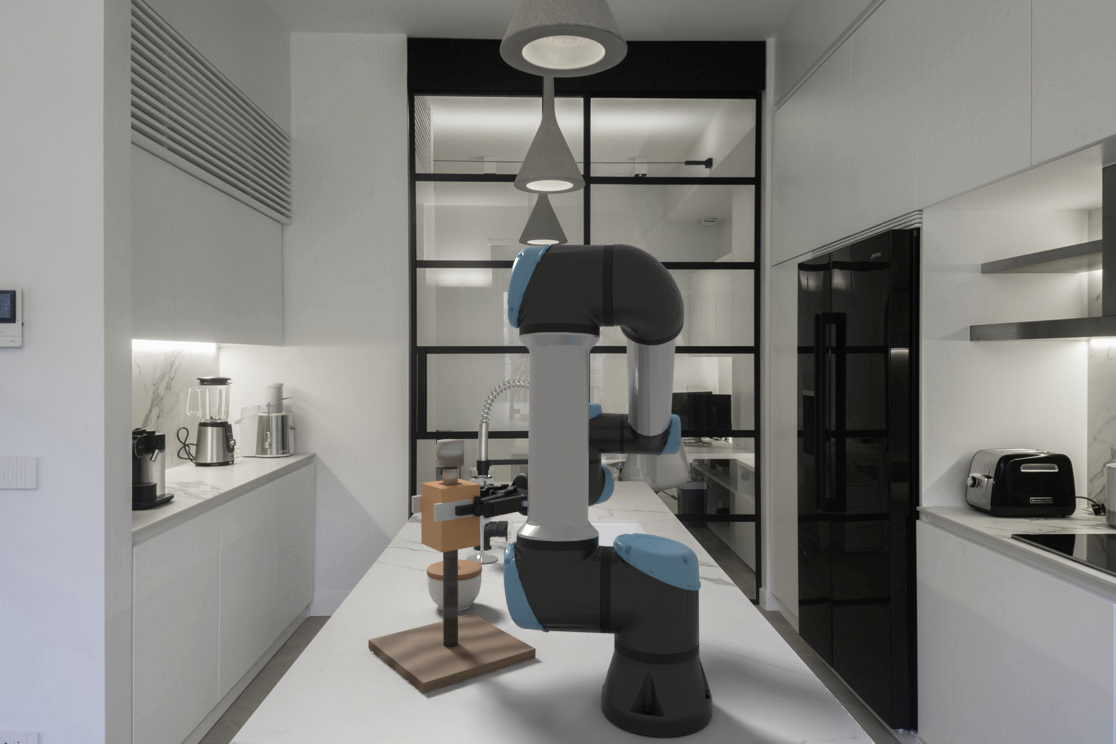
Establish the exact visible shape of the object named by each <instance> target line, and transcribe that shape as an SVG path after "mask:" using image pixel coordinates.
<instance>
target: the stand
mask: <svg viewBox="0 0 1116 744" xmlns="http://www.w3.org/2000/svg"><path fill="white" fill-rule="evenodd" d="M464 447H465V440H464V439H460V438H459V439H456V438H455V439H452V438H448V439H439V440H438V439H437V440H436V466H437V467H442V481H443V485H445V486H451V485H458V479H459V467H463V466H464V465H465V448H464ZM458 560H459V549H458V550H453V551H447V552H442V561H443V610H442V612H443V613H442V619H443V620H442V621H438V622H434V623H430V624H425V625H422V626H417V627H414V628H410V629H406V630H405V629H404V630H402V631H398V632H394V633H389V634H385V635H382V636H378V637H375V638H370V639H368V640H367V641H368V642H367V643H368V647H367V648H369V649H370V651H371V652H372V651H373V652H374V653H375V656H377V657H378V658H379V657H380V658H379V659H381V660H382V661H383V662H384V663H385V664H387V665H388V666H389V667H391V668H392V669H393V670H395V671H396V672H397V673H398V674H399V675H400V676H401V677H403V678H404V679H405V680H407V682H409V683H410V684H411V685H412V686H414V687H415V688H416V689H417V690H419V691H420V692H421V693H423V694H426V693H429V692H432V691H435V690H438V689H442V688H445V687H447V686H451V685H454V684H457V683H460V682H463V681H467V680H470V679H473V678H477V677H479V676H482V675H486V674H489V673H493V672H495V671H499V670H502V669H504V668H507V667H511V666H512V667H513V666H514V665H518V664H520V663H523V662H527V661H531V660H534V659H536V657H537V656H536V655H537V654H536V651H537V650H536V649H537V648H535V647H534V646H532V645H530V644H528V643H526V642H524V641H523V640H521V639H519V638H517V637H515V636H513V635H512V634H510V633H508V632H506V631H504V630H503V629H501V628H499V627H497V626H496V625H494V624H492V623H490V622H488V621H486V620H484V619H483V618H481V617H479V616H478V615H475V613H468V614H466V615H461V616H459V611H458ZM369 649H368V650H369ZM373 652H372V653H373ZM374 653H373V654H374Z"/></svg>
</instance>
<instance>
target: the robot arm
mask: <svg viewBox="0 0 1116 744" xmlns="http://www.w3.org/2000/svg"><path fill="white" fill-rule="evenodd" d="M511 268H512V269H511V273H510V277H509V283H508V290H507V291H508V292H507V300H506V301H507V303H506V304H507V320H508V323H509V325H510V326H511V327H513V328H515V329H516V330H517V329H518V339H519V341H520V342H521V343H522V344H523V345H524V346H525V347H526V348H527V350H528V352H529V361H528V363H529V369H528V370H529V371H528V372H529V375H528V376H529V378H528V380H529V381H528V446H527V447H528V448H527V449H528V453H527V455H528V456H527V459H528V460H527V462H528V463H527V472H521V473H519V474H517V475H516V476H515V477H514V479H513V481H512V483H511V484H510V483H499V484H498V485H495V486H494V484H487V485H482V486H480V496H474V504H472V499H466V500H458V501H451V502H444V503H437V504H434V521H435V522H440V521H446V520H452V519H459V518H465V517H472V514H474V516H476V517H479V516H482V515H483V517H484V518H490V517H494V518H495V517H500V516H504V515H510V514H515V513H518V514H520V516H521V515H522V516H524V517H525V516H526V517H527V519H526V521H525V522H524V523H523V524H522V525H521V526H520V527H519V528H518V529H517V530H516V538H515V539H516V540H515V541H512V542H511V543H508V545H506V547H505V550H504V554H503V569H502V570H503V572H502V573H503V586H504V587H503V588H504V595H505V601H506V606H507V607H506V608H507V610H508V613H509V616H510V618H511V620H512V621H513V623H514V624H515V625H516V626H517V627H518V628H521V629H524V630H532V631H533V630H534V631H540V632H543V633H550V632H563V633H585V634H610V635H611V634H612V635H613V638H614V639H613V641H614V642H613V654H612V656H611V660H610V663H609V666H608V670H607V673H606V676H605V680H604V683H603V685H602V688H601V700H600V701H601V704H600V705H601V711H602V713H603V715H604V717H605V718H606V719H607V720H608V721H610V723H611V724H613V725H615V726H616V727H619V728H621V729H623V730H625V731H628V732H630V733H634V734H638V735H642V736H648V737H649V736H650V737H656V738H657V737H658V738H659V737H660V738H661V737H662V738H663V737H664V738H667V737H668V738H669V737H671V738H672V737H680V736H685V735H686V736H687V735H690V734H692V733H695V732H698V731H700V730H702V729H703V728H705V727H706V726H707V725H708V724H709V723H710V721H711V720H712V717H713V696H712V693H711V690H710V687H709V683H708V678H707V676H706V673H705V669H704V666H703V663H702V660H701V657H700V589H702V588H701V587H702V582H701V580H700V566H699V564H700V563H699V558H698V556H697V554H696V553H695V552H694V550H693V549H692V548H691V547H690V546H688V545H686V544H684V543H682V542H680V541H677V540H674V539H671V538H668V537H665V536H660V535H654V534H647V533H638V532H636V533H623V534H619V535H617V536H616V537H615V538H614V541H613V543H612V545H600V539H599V538H600V532H599V530H597V528H595V526H594V525H593V524H592V523H591V522H590V520H589V507H592V506H595V505H599V504H600V505H601V504H603V503H606V502H607V501H608V500H610V498H611V497H612V496H613V493H614V490H615V480H614V478H613V472H612V471H611V469H610V468H609V467H608V466H607V465H605V464H603V463H602V455H607V454H608V455H609V454H610V455H645V456H646V455H651V456H652V455H654V456H661V455H664V456H665V455H676V454H678V453H679V452H680V450H681V439H682V437H681V436H682V430H681V428H682V424H681V423H682V422H681V418H680V416H679V415H678V414H674V413H672V407H673V406H672V405H673V390H674V374H675V372H674V371H675V354H676V342H677V341H676V340H677V338H678V337H679V335H681V333H682V331H683V328H684V323H685V322H684V321H685V305H684V301H683V297H682V293H681V291H680V289H679V286H678V284H677V282H676V280H675V278H674V277H673V276H672V274H671V273H670V271H669V270H668V269H667V268H666V266H665V265H663V263H662V262H661V261H660V260H658V259H657V258H656V257H655V256H653V255H652V254H651V253H648V252H647V251H646V250H644V249H641V248H639V247H637V246H634V245H630V244H624V243H620V244H619V243H614V244H547V245H542V246H528V247H526V248H524V249H522V250H520V252H519V253H518V254H517V256H516V257H515V260H514V262H513V265H512V267H511ZM605 327H606V328H608V327H610V328H611V327H619V328H620V331H621V332H622V335H623V336H624V337H625V339H626V363H627V364H626V366H627V367H626V368H627V369H626V371H627V404H628V406H627V407H628V408H627V409H628V413H616V412H614V413H613V412H612V413H611V412H610V413H609V412H607V413H606V412H603V410H602V404H600V403H599V402H590V352H591V350H592V349H593V348H594V347H595V346H596V345H597V344H598V342H599V341H600V340H601V328H605ZM411 513H412V514H419V513H420V514H421V494H417V495H411Z"/></svg>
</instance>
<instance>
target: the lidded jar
mask: <svg viewBox="0 0 1116 744" xmlns="http://www.w3.org/2000/svg"><path fill="white" fill-rule="evenodd" d="M482 572H483V566H482V564H479V563H477V562H474V561H470V560H466V559H458V612H462V611H465V610H468V609H469V608H470V607H471V605H472V604H473V603H474V602H475V600H476V599H477V597H478V596H479V594H480V589H481V586H482V585H481V584H482ZM426 576H427V578H426V579H427V589H428V594H429V596H430V598H431V599H432V601H433V603H434V604H435V605H436V606H438V608H439V610H441V611H443V560H441V561H438V562H437V561H436V562H433V563H431V564H430V565H428V566H427V567H426Z"/></svg>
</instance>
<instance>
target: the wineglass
mask: <svg viewBox="0 0 1116 744" xmlns="http://www.w3.org/2000/svg"><path fill="white" fill-rule="evenodd" d="M469 482H473V483H477V484H480V486H482V485H487V484H494V486H496V485H495V480H494V476H492V475H484V474H483V475H473V476H471V477H470V478H469ZM493 519H495V517H490V518H484V517H483V515H482V516H480V550H479V553H478V554H477V553H476V554H472V555H469V556H467V557H466V559H465V560H470V561H474V562H477V563H479V564H481V565H482V564H483V565H484V564H485V565H486V564H491V563H495V562H497V560H498V557H497V555H493V554H489V553H485V549H484V530H485V525H486V524H489V523H490V522H492V520H493Z"/></svg>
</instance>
